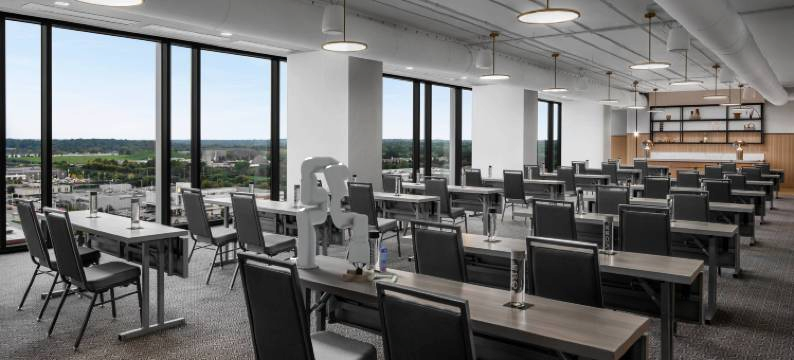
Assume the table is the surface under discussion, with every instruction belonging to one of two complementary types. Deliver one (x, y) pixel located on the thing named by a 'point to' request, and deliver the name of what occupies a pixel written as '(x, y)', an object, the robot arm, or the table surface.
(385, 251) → the ink cartridge box
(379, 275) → the frame
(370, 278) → the birch block
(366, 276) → the corridor
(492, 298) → the table surface
